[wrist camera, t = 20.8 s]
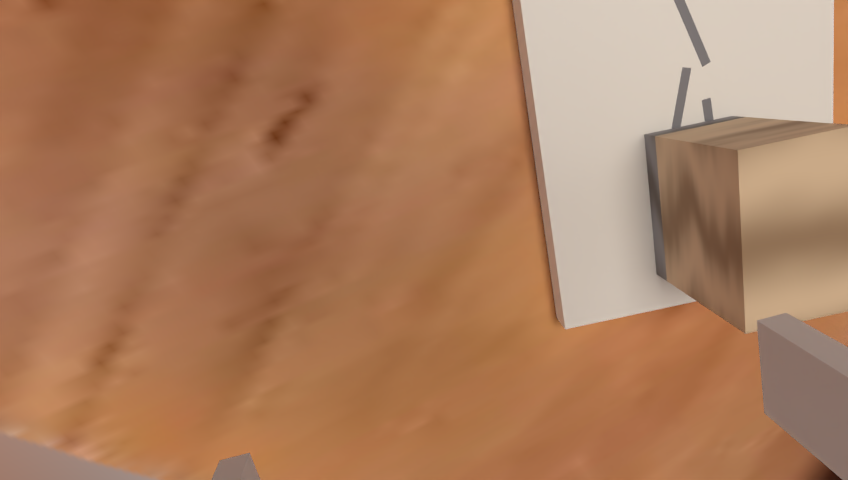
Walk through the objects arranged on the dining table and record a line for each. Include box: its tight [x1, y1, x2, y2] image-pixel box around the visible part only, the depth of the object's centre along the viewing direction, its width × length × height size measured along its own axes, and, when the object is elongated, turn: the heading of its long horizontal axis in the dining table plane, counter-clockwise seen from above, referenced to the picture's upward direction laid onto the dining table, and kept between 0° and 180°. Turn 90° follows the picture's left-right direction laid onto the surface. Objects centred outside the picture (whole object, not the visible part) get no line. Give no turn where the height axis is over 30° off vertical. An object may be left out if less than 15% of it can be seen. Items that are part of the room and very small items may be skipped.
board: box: [512, 0, 834, 329], centre depth 37 cm, size 30×20×2 cm, turn 11°
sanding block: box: [644, 116, 848, 334], centre depth 33 cm, size 10×6×10 cm, turn 11°
